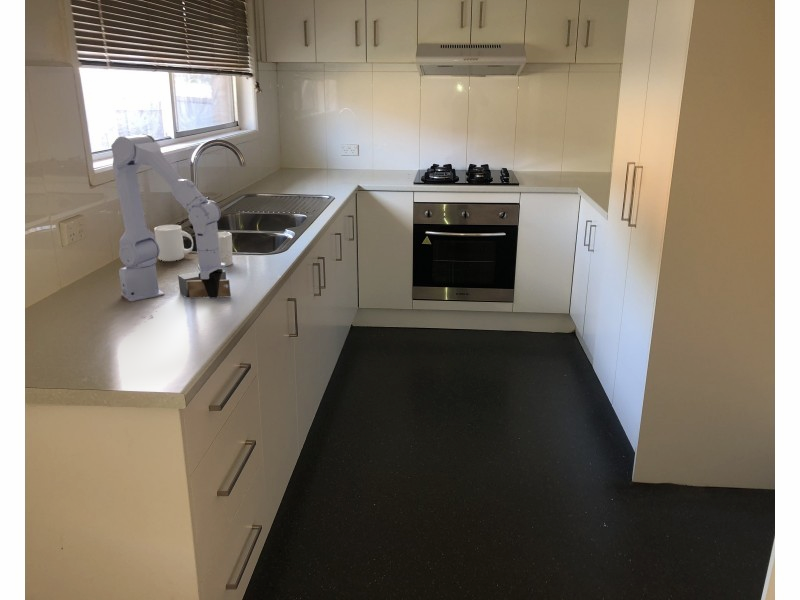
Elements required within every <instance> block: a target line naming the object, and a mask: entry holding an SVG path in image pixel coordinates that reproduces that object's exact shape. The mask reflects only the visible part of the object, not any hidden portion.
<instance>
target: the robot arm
mask: <svg viewBox="0 0 800 600" xmlns="http://www.w3.org/2000/svg"><path fill="white" fill-rule="evenodd" d="M110 146H111V153H112V156H113V157H112V158H113V160H112V169H113V174H114V179H115V180H114V181H115V184H116V189H117V195H118V199H119V205H120V210H121V214H122V219H123V226H124V233H123V234H122V235H121V237H120V239H119V241H118V243H119V251H118V255H119V259H120V261H121V263H123V265H125V266H124V267H120V268H119V270H118V274H119V275H118V277H119V282H120V283H119V284H120V288H121V295H122V297H124V298H125V300H127V301H129V302H135V301H141V300H144V299H145V300H146V299H149V298H150V299H151V298H154V297H159V296H164V295H165V293H164V292H163V291H162V290H160V289H159V281H158V276H157V275H158V273H157V265H156V262H158V261H157V258H158V256H159V253H160V248H159V245H158V243H157V242H156V239H155V232H152V231H151V230H149V229H148V228H147V222H146V218H145V211H144V207H143V201H142V195H141V190H140V185H139V184H140V183H139V179H138V175H137V171H138V169H140V167H141V166H142V165H143V166H149V167H150V168H152V169H153V170H154V171H155V172H156V173H157V174H158V176H160V177H161V178H162V179H163V181H165V182H166V183H167V184H168V185H169V186H170V187H171V194H172V196H173V197H174V198H175V200H176V201H178V203H179V204H180V205H181V206H182V208H184V209H185V211H187V213H188V215H187V217H188V218H187V219H188V220H189V222H190V223H191V225H192V227H193V232H194V233H195V234H194V235H195V241H196V242H195V244H196V251H197V261H198V265H197V268H198V271H200V273H199V278H200V279H201V281H202V282H203V284H204V286H205V288H206V291H207V294H208V297H207V298H209V299H216V298H218V297H217V296H218V291H219V282H220V278H221V275H222V272H223V270H224V269H223V268H225V267H227V266H226V263H221V258H220V248H219V238H218V232H219V229H218V221H219V220H220V219H221V215H222V214H221V208H220V207H219V204H218V203H217V202H216V201H214V200H210V199H208V198H207V197H205V196H204V195H203V194H202V193H201V192H200V190H198V188H197V187H196V184H195V183H194V181H191V180H190V179H186V178H182V177H181V176H180V174H179V173H178V171H177V170H176V169H175V168H174V166H173V165H172V164H171V163H170V161H169V160H168V159H167V158H166V156H165V155H164V154H163V152H162V151H161V150H162V149H161V144H160V143H159V142H157V141H156V139H155V138H154V137H153V136H152V135H151V134H148V133H142V134H138V135H129V136H118V137H117V138H116V139H115V140H114V141H113V143H112V144H111V145H110ZM219 268H220V269H219Z"/></svg>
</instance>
